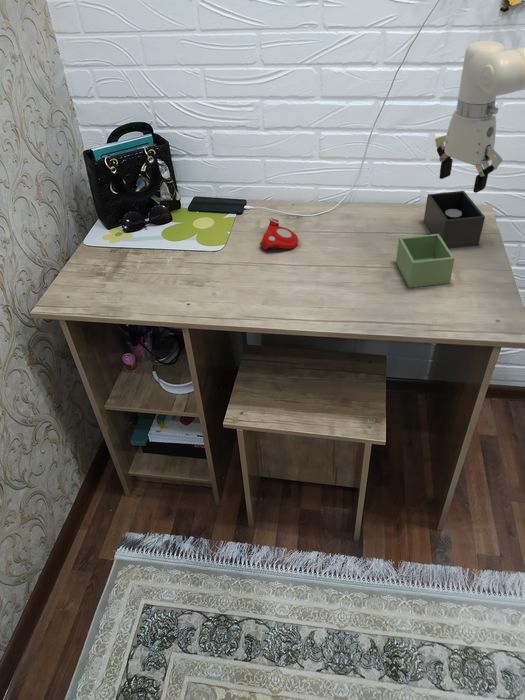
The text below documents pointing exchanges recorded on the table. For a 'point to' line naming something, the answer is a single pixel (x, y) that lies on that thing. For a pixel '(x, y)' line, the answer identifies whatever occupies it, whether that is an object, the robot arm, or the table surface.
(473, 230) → the right bin
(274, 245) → the tracker holder
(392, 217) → the table surface
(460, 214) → the steel cylinder
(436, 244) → the left bin
